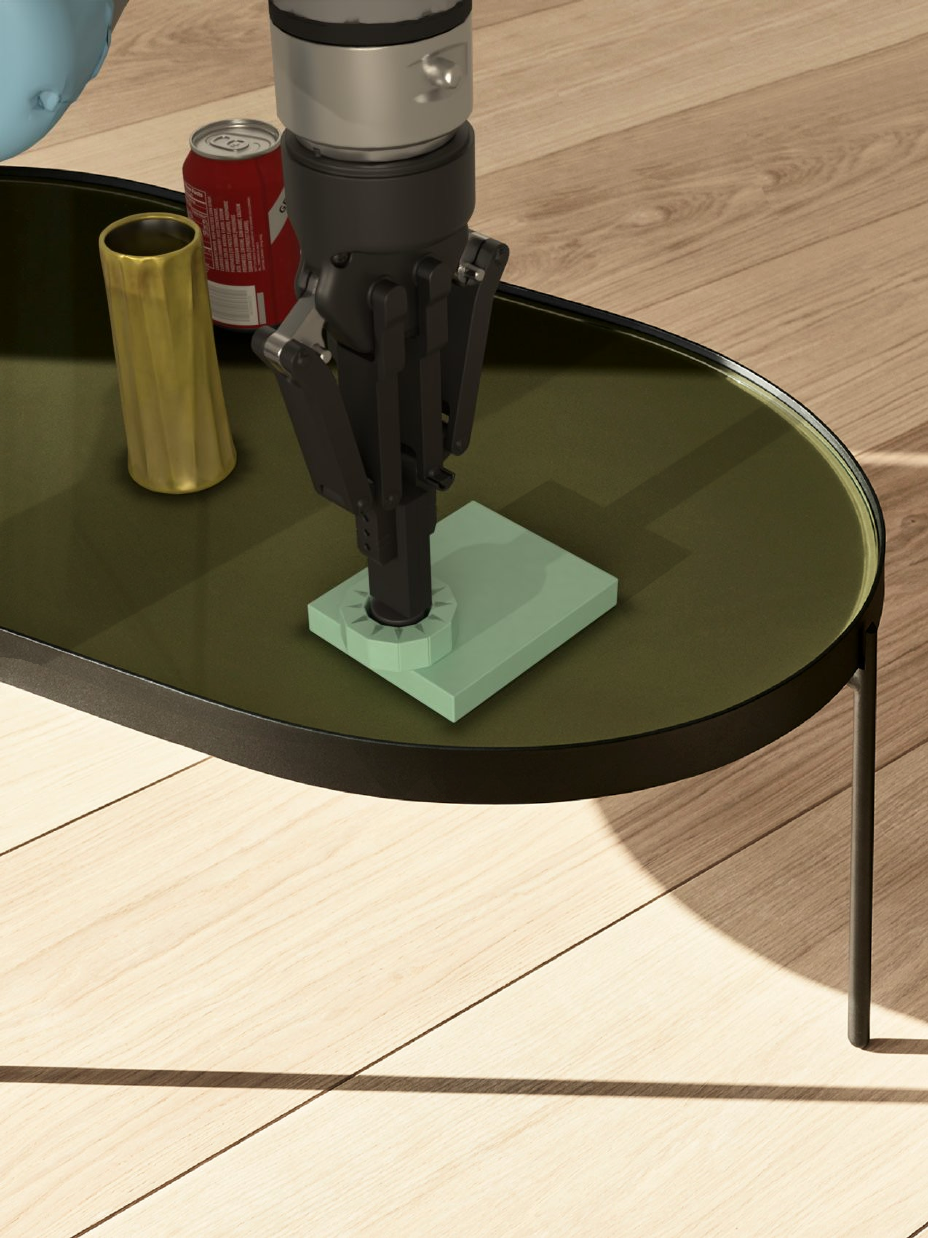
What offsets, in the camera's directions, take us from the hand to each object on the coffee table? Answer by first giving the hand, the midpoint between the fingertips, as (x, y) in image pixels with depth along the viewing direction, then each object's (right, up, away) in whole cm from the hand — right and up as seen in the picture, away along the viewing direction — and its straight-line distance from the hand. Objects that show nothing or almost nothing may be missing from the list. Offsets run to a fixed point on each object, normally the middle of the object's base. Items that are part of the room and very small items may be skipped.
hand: (400, 599), depth 79 cm
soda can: (-11, +19, +29) cm, 36 cm away
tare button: (0, -1, +1) cm, 2 cm away
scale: (+3, -1, +5) cm, 6 cm away
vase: (-13, +8, +16) cm, 22 cm away
